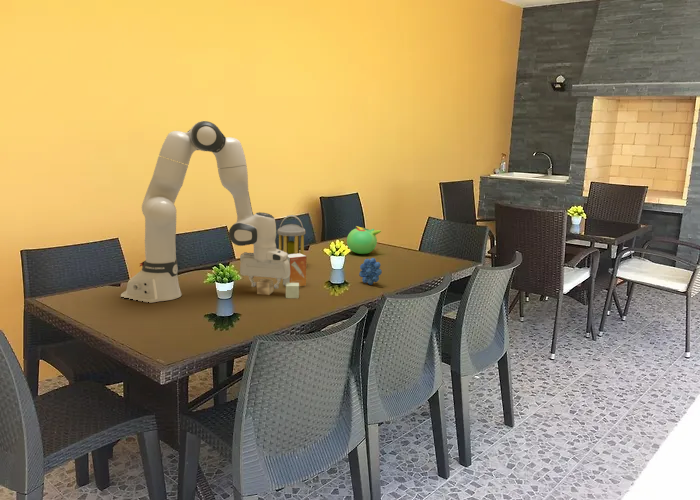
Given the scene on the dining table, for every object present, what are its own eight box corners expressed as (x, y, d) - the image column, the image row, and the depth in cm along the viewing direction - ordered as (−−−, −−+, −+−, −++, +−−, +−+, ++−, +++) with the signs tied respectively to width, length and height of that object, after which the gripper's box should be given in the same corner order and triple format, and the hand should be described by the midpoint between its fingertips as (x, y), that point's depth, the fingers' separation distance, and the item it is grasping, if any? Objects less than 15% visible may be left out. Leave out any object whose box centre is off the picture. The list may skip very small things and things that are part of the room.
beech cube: (257, 294, 230) (257, 281, 229) (261, 290, 235) (261, 278, 234) (269, 295, 229) (269, 282, 228) (273, 291, 234) (273, 279, 233)
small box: (289, 288, 239) (289, 257, 237) (282, 284, 244) (282, 254, 242) (306, 285, 244) (306, 255, 241) (299, 282, 249) (299, 252, 246)
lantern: (306, 263, 283) (307, 213, 278) (305, 270, 269) (306, 217, 264) (277, 263, 283) (277, 212, 277) (274, 270, 269) (274, 217, 264)
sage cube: (285, 298, 225) (285, 286, 224) (286, 294, 230) (286, 282, 229) (298, 298, 226) (298, 286, 225) (298, 294, 230) (299, 282, 229)
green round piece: (343, 250, 317) (343, 224, 314) (372, 249, 321) (373, 223, 318) (351, 257, 299) (351, 229, 296) (382, 256, 304) (383, 229, 301)
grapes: (386, 285, 248) (387, 258, 245) (377, 288, 242) (378, 260, 240) (365, 280, 255) (366, 253, 252) (355, 283, 250) (356, 256, 247)
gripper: (237, 253, 228) (237, 287, 231) (286, 257, 224) (286, 291, 227) (243, 250, 234) (243, 283, 237) (291, 253, 230) (291, 287, 233)
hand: (265, 287), depth 232 cm, fingers open, 8 cm apart
